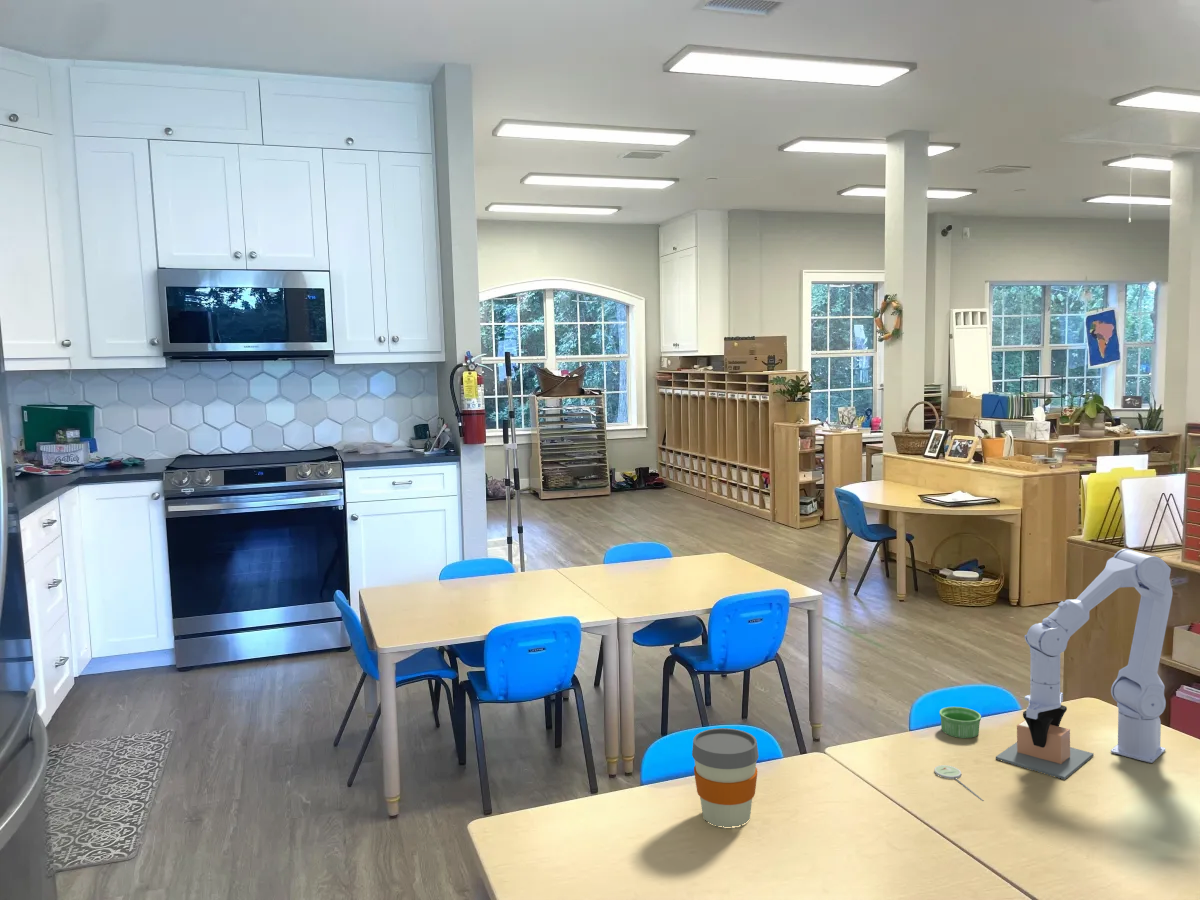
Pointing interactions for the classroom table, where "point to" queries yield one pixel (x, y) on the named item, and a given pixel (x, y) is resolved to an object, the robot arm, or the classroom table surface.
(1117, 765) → the classroom table surface
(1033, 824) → the classroom table surface
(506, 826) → the classroom table surface
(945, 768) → the sign
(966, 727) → the ramekin
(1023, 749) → the brick
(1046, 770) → the mat
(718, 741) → the reusable coffee cup
